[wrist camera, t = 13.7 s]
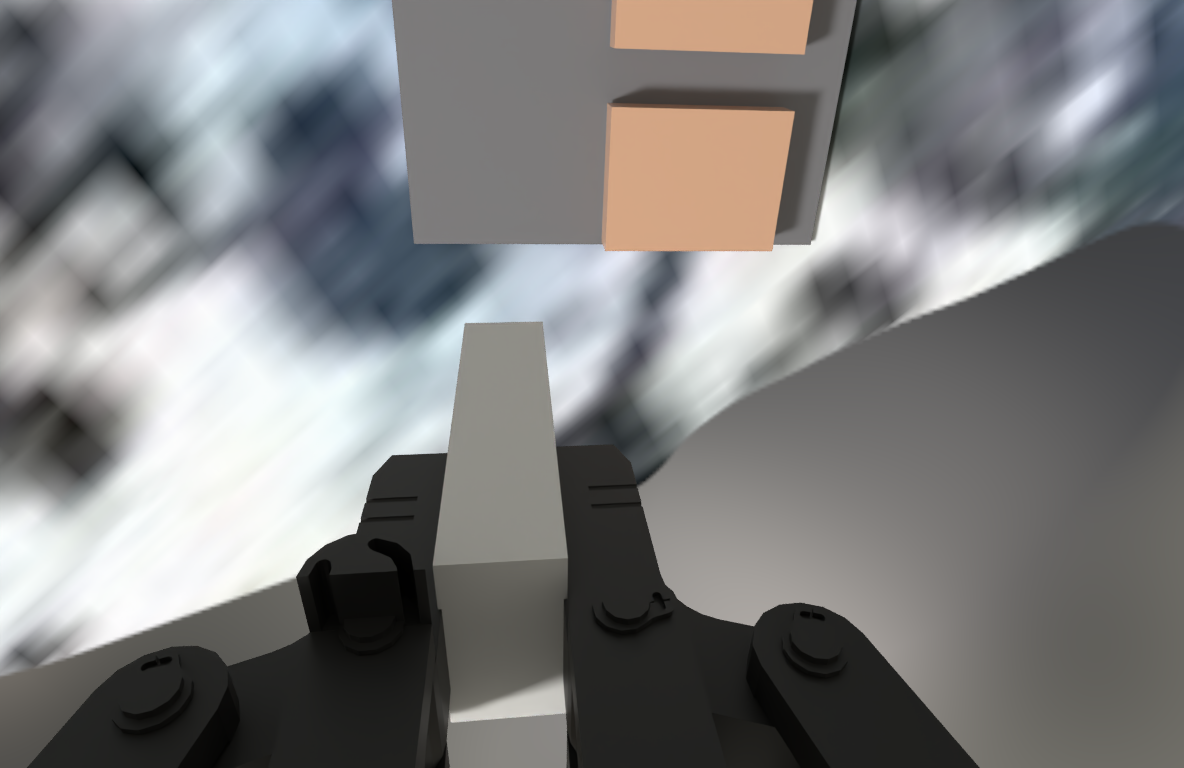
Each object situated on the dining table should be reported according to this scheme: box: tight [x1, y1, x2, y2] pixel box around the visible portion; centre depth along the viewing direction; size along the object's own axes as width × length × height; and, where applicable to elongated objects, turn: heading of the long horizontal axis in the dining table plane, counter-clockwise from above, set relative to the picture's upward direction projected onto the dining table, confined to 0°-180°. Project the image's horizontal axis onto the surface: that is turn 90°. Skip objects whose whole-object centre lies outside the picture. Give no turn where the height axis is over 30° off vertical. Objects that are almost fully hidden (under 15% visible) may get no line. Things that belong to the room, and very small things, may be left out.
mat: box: [392, 0, 857, 245], centre depth 34 cm, size 17×22×1 cm
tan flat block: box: [602, 103, 795, 251], centre depth 35 cm, size 7×2×9 cm
